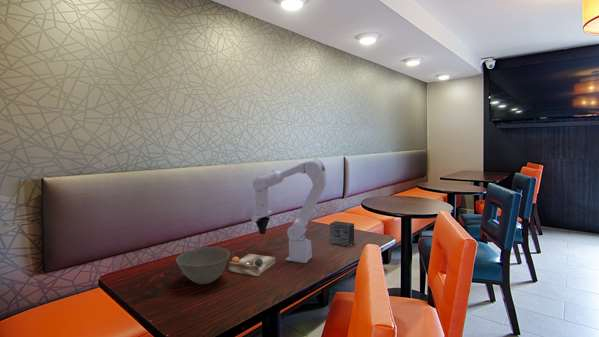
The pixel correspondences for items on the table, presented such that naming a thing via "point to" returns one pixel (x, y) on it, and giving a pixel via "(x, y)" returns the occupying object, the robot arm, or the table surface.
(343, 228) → the small box
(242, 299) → the table surface
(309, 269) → the table surface
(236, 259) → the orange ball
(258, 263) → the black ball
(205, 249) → the bowl
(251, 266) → the bearing plate
